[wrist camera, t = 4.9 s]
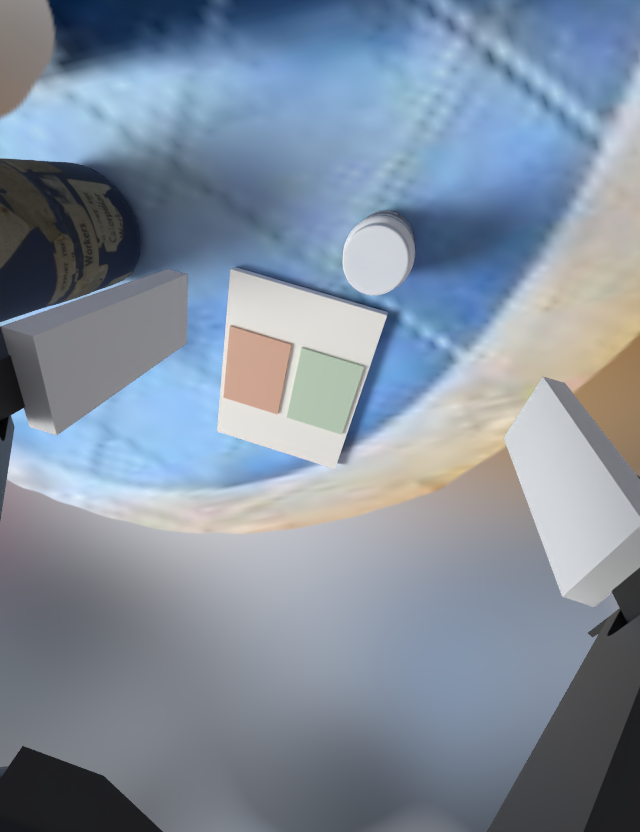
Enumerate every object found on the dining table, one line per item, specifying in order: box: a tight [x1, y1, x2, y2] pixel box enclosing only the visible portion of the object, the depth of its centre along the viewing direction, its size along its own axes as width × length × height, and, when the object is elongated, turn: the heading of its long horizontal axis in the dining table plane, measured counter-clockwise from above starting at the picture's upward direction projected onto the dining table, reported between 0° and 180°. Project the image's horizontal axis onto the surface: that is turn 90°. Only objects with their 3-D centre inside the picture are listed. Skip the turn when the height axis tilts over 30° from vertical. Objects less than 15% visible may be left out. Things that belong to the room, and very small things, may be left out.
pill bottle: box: [343, 211, 415, 295], centre depth 26 cm, size 5×5×8 cm
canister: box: [0, 159, 140, 322], centre depth 26 cm, size 10×10×18 cm
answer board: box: [217, 267, 388, 469], centre depth 37 cm, size 18×14×1 cm
